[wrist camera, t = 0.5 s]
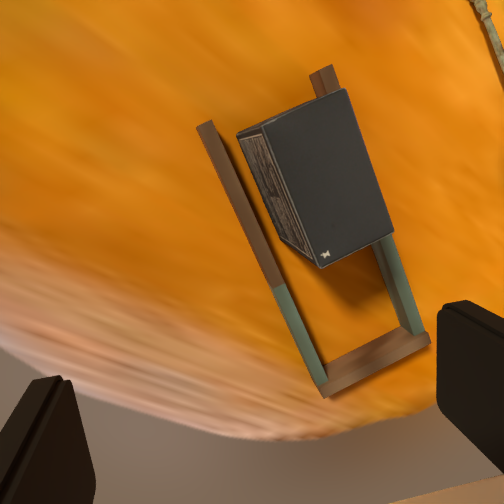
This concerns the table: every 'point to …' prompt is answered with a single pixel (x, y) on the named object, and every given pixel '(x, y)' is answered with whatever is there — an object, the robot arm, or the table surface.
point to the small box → (317, 179)
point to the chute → (324, 377)
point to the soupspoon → (490, 30)
